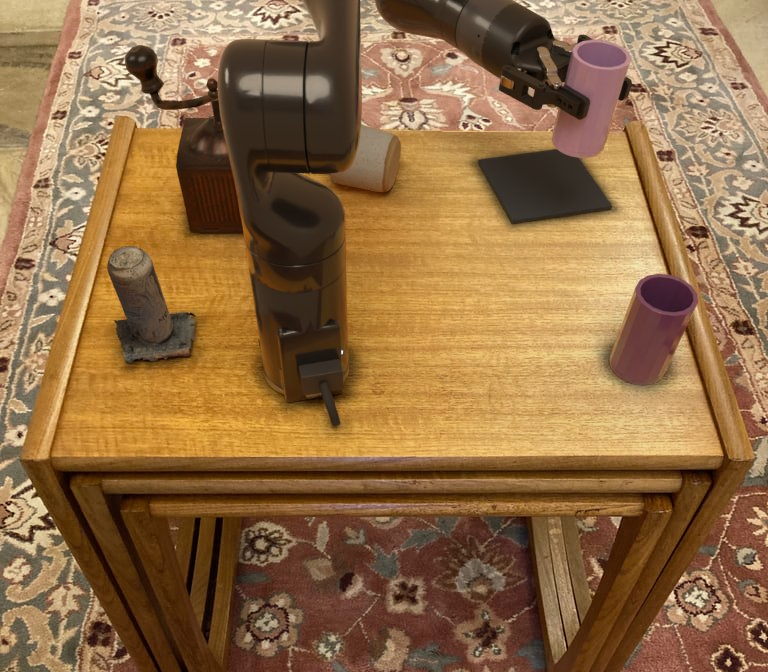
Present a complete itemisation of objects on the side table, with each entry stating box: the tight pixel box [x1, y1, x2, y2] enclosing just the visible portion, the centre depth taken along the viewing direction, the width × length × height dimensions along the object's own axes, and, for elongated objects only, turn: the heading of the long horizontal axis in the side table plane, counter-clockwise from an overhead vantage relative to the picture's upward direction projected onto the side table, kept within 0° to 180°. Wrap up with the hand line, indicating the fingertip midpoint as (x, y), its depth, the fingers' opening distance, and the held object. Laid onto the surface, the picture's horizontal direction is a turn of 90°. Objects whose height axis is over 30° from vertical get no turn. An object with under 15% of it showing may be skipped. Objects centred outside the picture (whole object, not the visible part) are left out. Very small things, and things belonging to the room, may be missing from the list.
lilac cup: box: [551, 39, 632, 159], centre depth 86 cm, size 6×6×10 cm
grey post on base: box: [106, 245, 197, 365], centre depth 80 cm, size 9×8×12 cm
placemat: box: [477, 148, 613, 225], centre depth 103 cm, size 14×14×1 cm
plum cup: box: [608, 273, 699, 386], centre depth 81 cm, size 6×6×10 cm
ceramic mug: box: [328, 124, 402, 193], centre depth 100 cm, size 11×8×8 cm
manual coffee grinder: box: [124, 44, 244, 235], centre depth 91 cm, size 16×11×18 cm
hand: (607, 100), depth 84 cm, fingers closed on lilac cup, 6 cm apart
